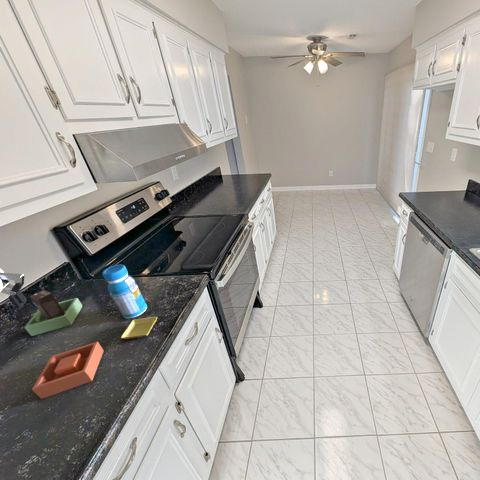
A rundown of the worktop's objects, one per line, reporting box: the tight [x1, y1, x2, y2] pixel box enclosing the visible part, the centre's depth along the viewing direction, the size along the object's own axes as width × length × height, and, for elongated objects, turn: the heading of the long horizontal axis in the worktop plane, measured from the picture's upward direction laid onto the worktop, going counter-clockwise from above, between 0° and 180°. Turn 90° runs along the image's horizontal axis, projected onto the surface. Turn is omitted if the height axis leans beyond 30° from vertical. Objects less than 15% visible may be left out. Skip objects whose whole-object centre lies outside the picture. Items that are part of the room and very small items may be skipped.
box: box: [29, 289, 65, 320], centre depth 94 cm, size 6×4×12 cm
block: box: [54, 353, 86, 378], centre depth 75 cm, size 4×4×4 cm
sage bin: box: [24, 297, 83, 337], centre depth 96 cm, size 12×12×5 cm
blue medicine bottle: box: [101, 263, 148, 319], centre depth 94 cm, size 8×8×20 cm
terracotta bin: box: [31, 341, 105, 400], centre depth 75 cm, size 12×12×5 cm
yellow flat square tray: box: [120, 316, 158, 340], centre depth 89 cm, size 9×9×2 cm
